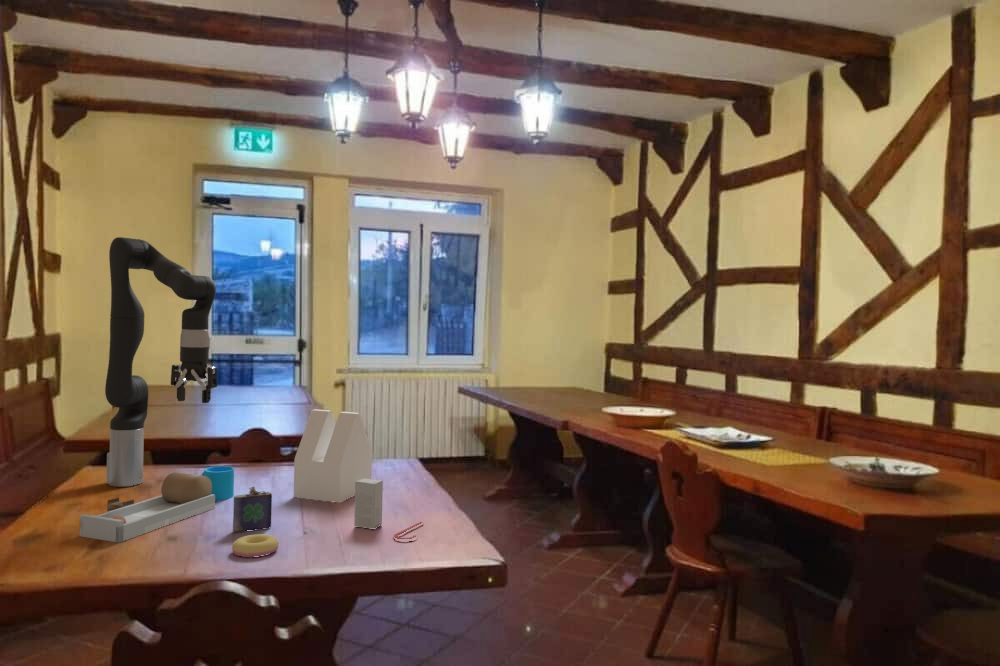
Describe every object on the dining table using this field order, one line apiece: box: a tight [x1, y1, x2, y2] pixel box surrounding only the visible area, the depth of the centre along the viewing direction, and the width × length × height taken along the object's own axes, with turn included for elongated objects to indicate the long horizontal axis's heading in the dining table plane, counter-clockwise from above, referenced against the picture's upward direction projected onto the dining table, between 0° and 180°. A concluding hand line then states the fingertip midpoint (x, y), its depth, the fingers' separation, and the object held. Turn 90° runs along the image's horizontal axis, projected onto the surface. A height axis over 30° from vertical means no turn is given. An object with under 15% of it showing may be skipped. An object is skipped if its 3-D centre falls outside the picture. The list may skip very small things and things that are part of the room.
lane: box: [79, 471, 216, 544], centre depth 181 cm, size 12×32×10 cm, turn 162°
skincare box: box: [353, 478, 384, 528], centre depth 183 cm, size 6×4×12 cm
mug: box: [200, 465, 235, 502], centre depth 207 cm, size 12×8×8 cm
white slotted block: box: [293, 409, 373, 503], centre depth 215 cm, size 19×15×25 cm
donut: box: [231, 533, 279, 558], centre depth 161 cm, size 10×5×9 cm
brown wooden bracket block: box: [106, 496, 135, 513], centre depth 188 cm, size 6×3×3 cm, turn 72°
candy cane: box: [393, 521, 423, 539], centre depth 179 cm, size 6×15×2 cm, turn 156°
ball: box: [112, 516, 126, 524], centre depth 171 cm, size 4×4×4 cm
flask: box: [232, 486, 273, 533], centre depth 177 cm, size 9×3×11 cm, turn 121°
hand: (193, 401), depth 202 cm, fingers open, 8 cm apart
